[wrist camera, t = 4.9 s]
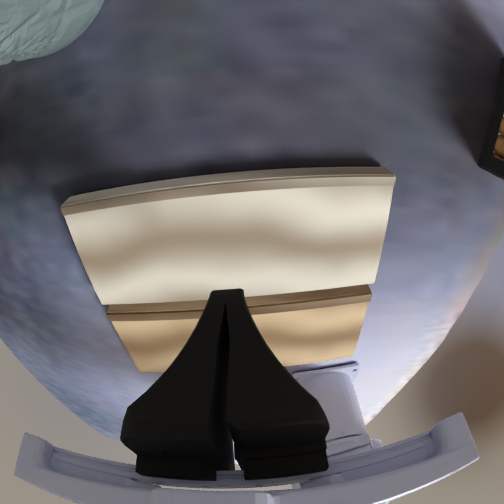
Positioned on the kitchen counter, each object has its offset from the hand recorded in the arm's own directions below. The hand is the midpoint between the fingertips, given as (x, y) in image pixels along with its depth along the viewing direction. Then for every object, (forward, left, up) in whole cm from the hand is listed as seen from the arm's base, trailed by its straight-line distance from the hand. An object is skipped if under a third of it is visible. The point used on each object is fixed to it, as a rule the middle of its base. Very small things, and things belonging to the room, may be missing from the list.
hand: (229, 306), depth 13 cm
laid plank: (-11, 0, -8) cm, 14 cm away
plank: (-1, 0, -8) cm, 8 cm away
